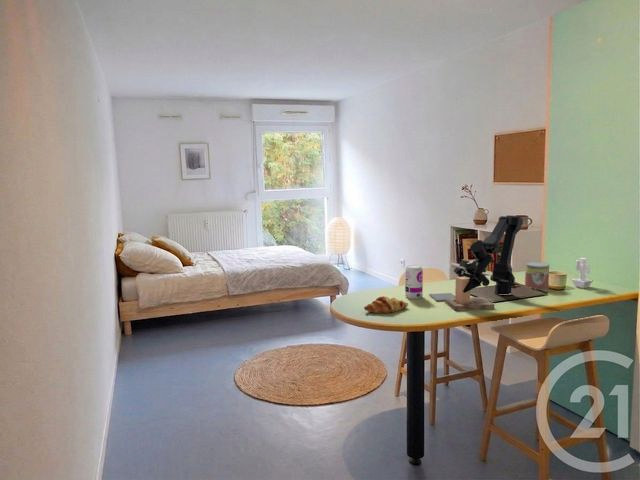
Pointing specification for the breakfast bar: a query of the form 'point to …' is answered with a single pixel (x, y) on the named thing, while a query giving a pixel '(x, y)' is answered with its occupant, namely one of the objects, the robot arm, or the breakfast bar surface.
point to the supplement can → (413, 281)
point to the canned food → (537, 275)
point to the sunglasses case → (511, 284)
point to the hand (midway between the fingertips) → (460, 290)
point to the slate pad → (442, 296)
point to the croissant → (385, 305)
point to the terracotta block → (459, 294)
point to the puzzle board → (474, 304)
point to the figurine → (582, 274)
